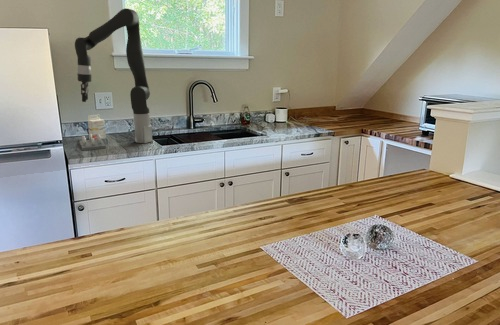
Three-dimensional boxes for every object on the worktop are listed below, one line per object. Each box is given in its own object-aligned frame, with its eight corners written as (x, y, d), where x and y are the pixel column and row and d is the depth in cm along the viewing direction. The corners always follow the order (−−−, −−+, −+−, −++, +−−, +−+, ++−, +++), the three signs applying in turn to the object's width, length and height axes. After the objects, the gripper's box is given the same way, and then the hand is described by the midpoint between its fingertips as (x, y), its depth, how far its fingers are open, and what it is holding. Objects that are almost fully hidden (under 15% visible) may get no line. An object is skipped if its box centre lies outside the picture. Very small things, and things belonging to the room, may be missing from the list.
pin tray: (105, 148, 218) (104, 138, 216) (82, 150, 212) (81, 140, 211) (101, 141, 235) (100, 132, 233) (79, 143, 229) (78, 134, 228)
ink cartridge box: (93, 140, 237) (91, 116, 233) (89, 139, 240) (86, 115, 236) (106, 138, 244) (104, 114, 240) (102, 136, 247) (99, 113, 243)
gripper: (90, 74, 222) (90, 102, 227) (92, 72, 235) (92, 99, 240) (75, 73, 220) (76, 102, 224) (79, 71, 233) (79, 98, 237)
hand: (85, 100), depth 232 cm, fingers open, 8 cm apart
